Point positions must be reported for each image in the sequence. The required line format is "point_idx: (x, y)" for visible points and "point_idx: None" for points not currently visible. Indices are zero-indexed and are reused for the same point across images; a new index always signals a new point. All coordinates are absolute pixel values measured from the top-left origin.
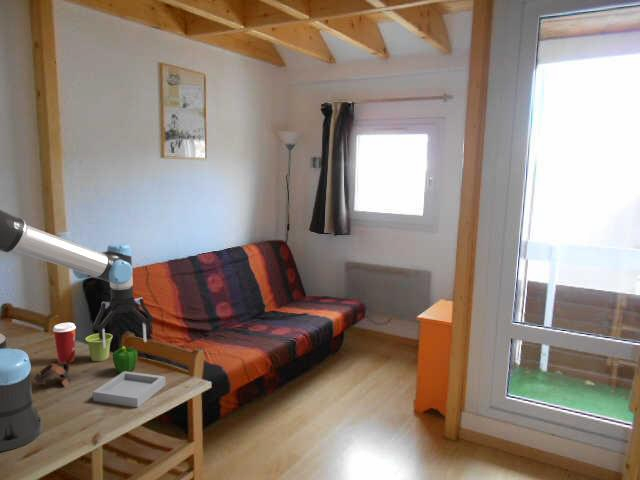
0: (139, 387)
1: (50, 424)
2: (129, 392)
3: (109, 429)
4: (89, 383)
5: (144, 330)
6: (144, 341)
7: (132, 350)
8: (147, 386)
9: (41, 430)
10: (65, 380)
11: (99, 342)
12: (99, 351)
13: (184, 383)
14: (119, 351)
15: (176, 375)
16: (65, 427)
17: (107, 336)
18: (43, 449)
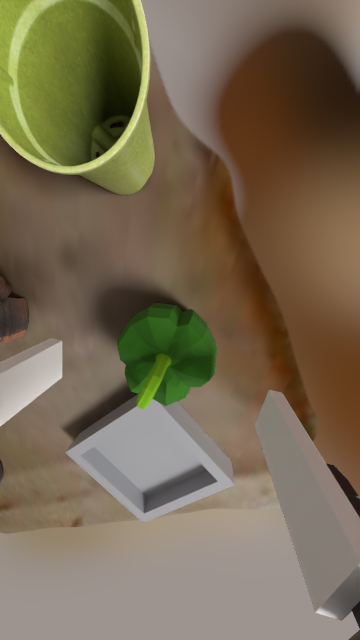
0: (170, 455)
1: (13, 461)
2: (145, 462)
3: (95, 520)
4: (76, 350)
5: (290, 520)
6: (256, 427)
7: (193, 379)
8: (187, 461)
9: (1, 475)
10: (6, 339)
11: (60, 168)
12: (94, 181)
13: (269, 477)
14: (139, 359)
15: None
16: (36, 481)
17: (128, 11)
18: (13, 508)
